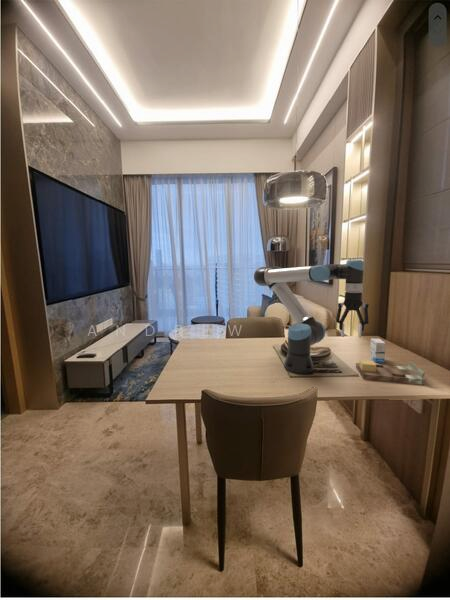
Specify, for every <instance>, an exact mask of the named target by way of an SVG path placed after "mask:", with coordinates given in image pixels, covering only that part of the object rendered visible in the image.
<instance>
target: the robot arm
mask: <svg viewBox="0 0 450 600" xmlns="http://www.w3.org/2000/svg"><path fill="white" fill-rule="evenodd" d="M364 266H365V262H364V261H363V259H356V260H355V259H354V260H353V259H352V260H350V259H349V260H347V261H346V263H344V264H340V263H338V264H337V263H334V264H331V263H329V264H328V263H327V264H317V265H308V266H305V265H304V266H295V267H294V266H293V267H286V268H285V267H284V268H282V267H280V266H275V265H273V266H261V267H258V268H257V269H256V270H255V271H254V274H253V280H254V282H255V284H256V285H258V286H261V287H268V288H269V290H270V291H271V292H274V293H275V295H276V296H277V297H278V299H279V300H280V302H281V304H282V305H283V307H285V309H286V311H287V312H288V313H289V315H290V317H291V319H292V320H293V321H294V322H295V323H294V324H291V325H289V327H288V329H287V330H288V332H287V355H286V357H285V360H284V363H283V368H284V369H285V370H286V371H287V372H290V373H293V374H300V375H301V374H302V375H304V374H309V373H312V372H313V371H314V363H313V360H312V357H311V346H313V345H315V344H319V343H320V342H321V341H322V340H323V339H324V338H325V337H326V328H325V325H324V324H323V323H322V322H320V321H317V320H316V319H315V317H314V316H311V315H309V314H308V312H307V311H306V310H305V308H304V307H303V305H302V304H301V302H300V301H299V300H298V298H297V297H296V295H295V294H294V293H293V291H292V290H291V288H290V287H289V285H288V284H287V283H295V282H298V283H299V282H324V281H329V280H345V288H344V291H345V292H344V301H343V302H338V303H337V312H336V317H335V322H336V323H337V324H338V325H339V328H338V329H339V330H340V331H341V332H340V336H341V337H342V338H344V337H345V323H344V322H345V319H346V318H347V316H348V314H349V312H350V311H354V312H356V314H357V318H358V321H359V323H358V330H357V332H358V333H357V337H358V339H361V338H362V332H364V330H365V325H368V324H369V313H368V312H369V310H368V308H369V306H370V305H369V304H368V303H366V302H365V303H364V302H363V293H362V292H363V286H364V285H363V284H364V272H365V267H364ZM343 306H344V307H345V309H344V312H343V313H342V308H343ZM361 307H362V308H363V316H362V314H361V313H362V312H361V310H360V309H361ZM341 314H342V316H341ZM363 318H364V319H363Z"/></svg>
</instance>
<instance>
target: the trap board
mask: <svg viewBox="0 0 450 600" xmlns="http://www.w3.org/2000/svg"><path fill="white" fill-rule="evenodd" d="M375 364H376V372H374V371H362V370H361V368H360V367H359V366H360V362H356V363H355V369H356V370H357V371H358V373H359V375H360V376H361V378H362V379H363V380H367V381H368V380H369V381H377V382H389V383H390V382H391V383H401V384H411V385H412V384H414V385H422V386H423V385H424V384H425V371H424V370H423V369H422V368H420V367H419V366H418V365H417V364H416V363H414V362H413V361H412V360H408V363H407V365H408V366H401V365H389V364H378V363H375Z"/></svg>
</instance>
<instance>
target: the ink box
mask: <svg viewBox="0 0 450 600" xmlns="http://www.w3.org/2000/svg"><path fill="white" fill-rule="evenodd" d="M369 348H370V349H369V358H370V359H371V361H373V362H374V363H375V364H378V363H379V364H385V358H386V342H385V341H383V340H382V339H380V338H370V347H369Z"/></svg>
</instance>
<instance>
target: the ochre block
mask: <svg viewBox="0 0 450 600" xmlns="http://www.w3.org/2000/svg"><path fill="white" fill-rule="evenodd" d="M359 363H360V366H359V367H360V368H361V370H362V371H374V372H376V364H377V363H375V362H374V361H373V360H367V359H366V360H363V359H362V360H361V359H360V360H359Z"/></svg>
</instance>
